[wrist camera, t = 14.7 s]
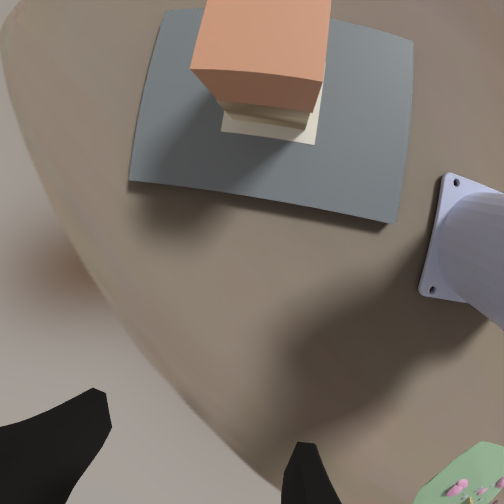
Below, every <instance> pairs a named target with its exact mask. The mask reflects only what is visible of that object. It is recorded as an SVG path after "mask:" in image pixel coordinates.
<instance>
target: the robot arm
mask: <svg viewBox="0 0 504 504" xmlns="http://www.w3.org/2000/svg"><path fill="white" fill-rule="evenodd" d="M454 179H455V180H456V181H457V185H456V186H454V182H453V181H454ZM432 286H434V289H433V291H431V292H429V290H430V288H431V287H432ZM418 291H419V293H420V294H421V295H423V296H426V297H432V298H438V299H445V300H451V301H457V302H464V303H469V304H470V305H472V306H473V307H474V308H476V309H477V310H478V311H480V312H481V313H482V314H483V315H485V316H486V317H487V318H488V319H490V320H491V321H492V322H493V323H495V324H496V325H497V326H498V327H500V328H501V329H502V330H503V331H504V194H503V193H501V192H499V191H496V190H494V189H492V188H489V187H487V186H484V185H482V184H479V183H477V182H474V181H472V180H469V179H467V178H464V177H461V176H458V175H456V174H453V173H445V174H444V175H443V176H442V181H441V188H440V194H439V200H438V206H437V211H436V216H435V222H434V226H433V231H432V236H431V240H430V244H429V249H428V253H427V257H426V261H425V264H424V268H423V272H422V276H421V279H420V283H419V286H418ZM111 428H112V424H111V419H110V414H109V409H108V403H107V397H106V393H104V392H102V391H100V390H97V389H95V388H91V389H89V390H87V391H86V392H84V393H82V394H80V395H78V396H76V397H74V398H72V399H70V400H68V401H66V402H65V403H63V404H61V405H59V406H57V407H54V408H52V409H50V410H48V411H46V412H44V413H41V414H39V415H37V416H34V417H32V418H29V419H26V420H24V421H21V422H18V423H14V424H10V425H7V426H2V427H0V504H65V503H66V501H67V499H68V497H69V495H70V493H71V491H72V489H73V488H74V486H75V485H76V483H77V482H78V480H79V479H80V477H81V476H82V475H83V473H84V472H85V470H86V469H87V468H88V466H89V465H90V463H91V462H92V460H93V459H94V458H95V456H96V455H97V453H98V452H99V451H100V449H101V448H102V446H103V444H104V442H105V440H106V438H107V436H108V435H109V432H110V430H111ZM281 504H342V503H341V501H340V500H339V498H338V496H337V494H336V492H335V490H334V488H333V486H332V484H331V482H330V480H329V477H328V475H327V473H326V471H325V468H324V466H323V463H322V461H321V458H320V455H319V452H318V450H317V446H316V445H315V444H314V443H304V442H297V444H296V446H295V449H294V451H293V453H292V456H291V458H290V460H289V463H288V465H287V467H286V469H285V471H284V478H283V485H282V493H281Z"/></svg>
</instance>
